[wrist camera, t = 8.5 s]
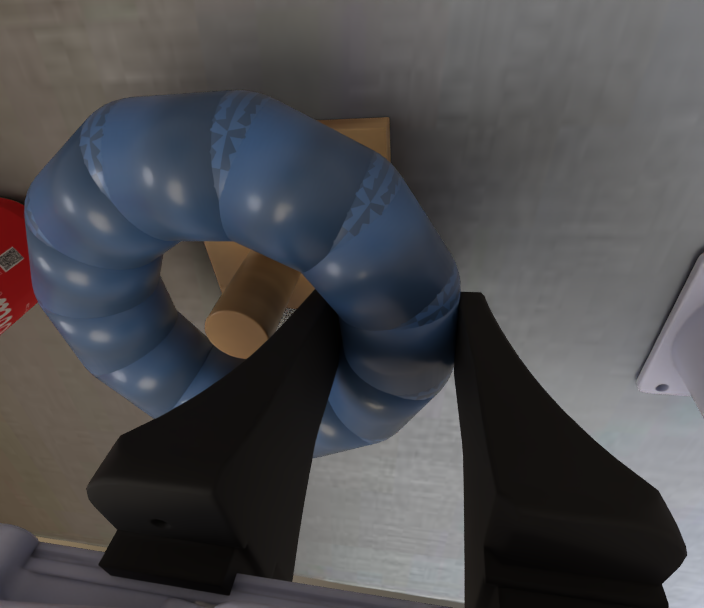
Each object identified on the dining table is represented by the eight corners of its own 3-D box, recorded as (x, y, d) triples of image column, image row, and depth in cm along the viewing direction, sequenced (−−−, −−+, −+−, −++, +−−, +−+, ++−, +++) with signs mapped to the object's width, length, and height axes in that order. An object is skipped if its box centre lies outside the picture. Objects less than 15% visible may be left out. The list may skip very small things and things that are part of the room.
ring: (473, 57, 9) (483, 99, 7) (447, 411, 17) (448, 491, 15) (-5, 94, 12) (-129, 135, 9) (167, 389, 20) (126, 456, 17)
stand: (389, 116, 15) (358, 214, 9) (395, 296, 20) (377, 427, 14) (181, 125, 16) (49, 215, 11) (235, 291, 21) (164, 408, 16)
